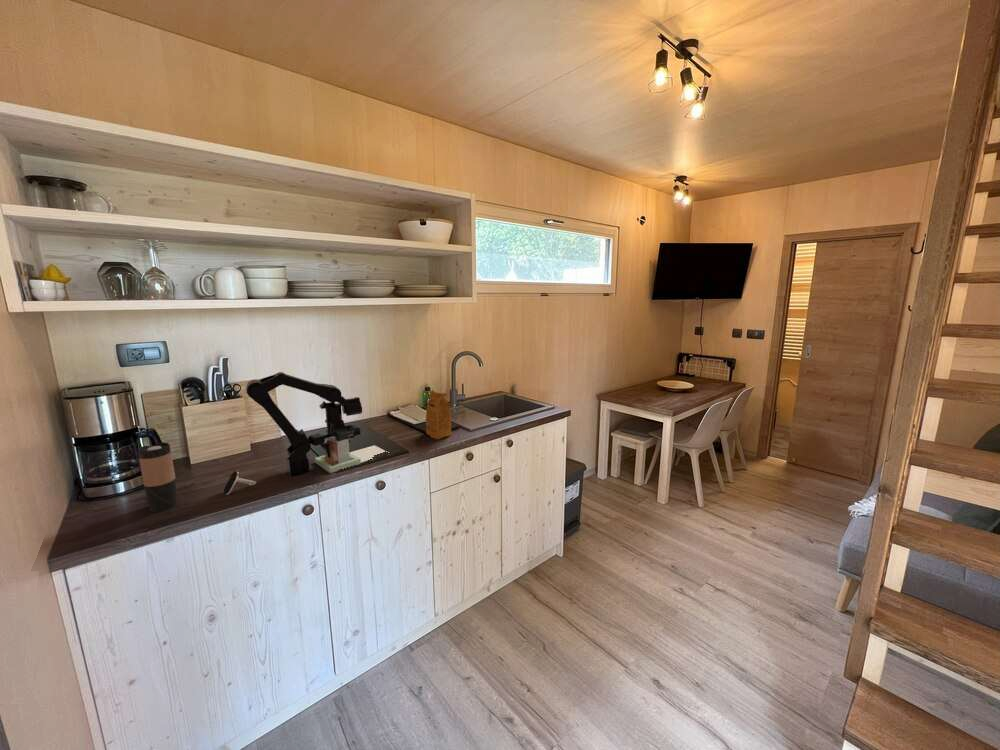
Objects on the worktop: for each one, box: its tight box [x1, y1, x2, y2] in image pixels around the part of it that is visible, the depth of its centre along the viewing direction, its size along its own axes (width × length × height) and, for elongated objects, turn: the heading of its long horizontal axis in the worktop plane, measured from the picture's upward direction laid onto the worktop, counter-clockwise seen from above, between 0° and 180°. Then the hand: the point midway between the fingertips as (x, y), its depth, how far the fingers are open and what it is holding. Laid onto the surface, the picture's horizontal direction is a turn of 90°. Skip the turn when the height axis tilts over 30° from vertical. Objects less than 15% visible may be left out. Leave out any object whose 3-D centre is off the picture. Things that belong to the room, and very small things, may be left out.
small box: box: [324, 437, 350, 465], centre depth 158 cm, size 8×6×10 cm
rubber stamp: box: [223, 471, 257, 496], centre depth 137 cm, size 8×5×8 cm
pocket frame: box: [314, 453, 362, 474], centre depth 159 cm, size 12×14×2 cm
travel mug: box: [137, 442, 179, 513], centre depth 125 cm, size 8×8×20 cm
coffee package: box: [425, 388, 452, 440], centre depth 190 cm, size 10×12×22 cm
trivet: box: [349, 445, 390, 463], centre depth 168 cm, size 13×13×1 cm
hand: (337, 455), depth 158 cm, fingers closed on small box, 6 cm apart
